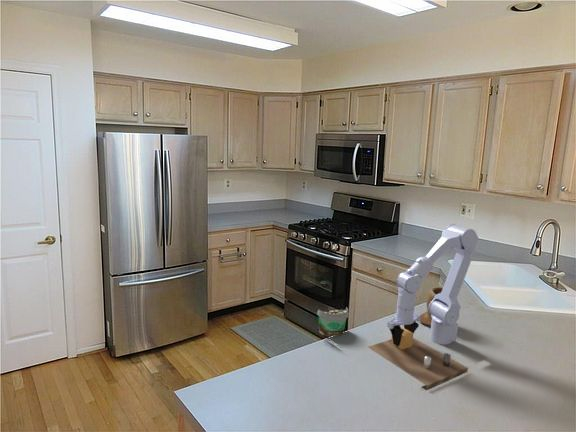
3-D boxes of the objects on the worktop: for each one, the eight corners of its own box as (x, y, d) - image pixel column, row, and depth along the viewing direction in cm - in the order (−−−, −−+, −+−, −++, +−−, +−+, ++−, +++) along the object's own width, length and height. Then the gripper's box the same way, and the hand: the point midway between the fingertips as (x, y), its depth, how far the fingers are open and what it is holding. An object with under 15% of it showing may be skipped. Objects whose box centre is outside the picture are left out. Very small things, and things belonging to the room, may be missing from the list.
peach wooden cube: (400, 339, 141) (402, 327, 140) (411, 346, 137) (413, 333, 136) (391, 343, 138) (392, 330, 137) (402, 349, 134) (403, 336, 133)
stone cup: (440, 333, 151) (444, 296, 148) (413, 321, 160) (417, 287, 157) (459, 323, 160) (463, 289, 158) (433, 313, 169) (436, 280, 167)
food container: (321, 342, 139) (322, 316, 138) (315, 334, 145) (317, 309, 143) (352, 339, 143) (354, 313, 141) (345, 331, 149) (347, 306, 147)
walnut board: (406, 338, 146) (406, 334, 145) (467, 372, 125) (467, 367, 125) (367, 350, 135) (367, 346, 135) (426, 390, 114) (427, 385, 114)
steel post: (425, 369, 125) (427, 355, 124) (430, 372, 124) (432, 358, 123) (421, 371, 124) (423, 356, 123) (426, 374, 122) (428, 359, 122)
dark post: (444, 366, 127) (446, 352, 126) (450, 369, 126) (451, 355, 125) (440, 368, 126) (442, 354, 125) (446, 371, 125) (448, 357, 124)
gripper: (410, 299, 142) (406, 333, 144) (382, 306, 134) (378, 342, 137) (426, 306, 136) (422, 342, 138) (397, 314, 128) (393, 351, 131)
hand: (401, 342), depth 137 cm, fingers open, 5 cm apart
